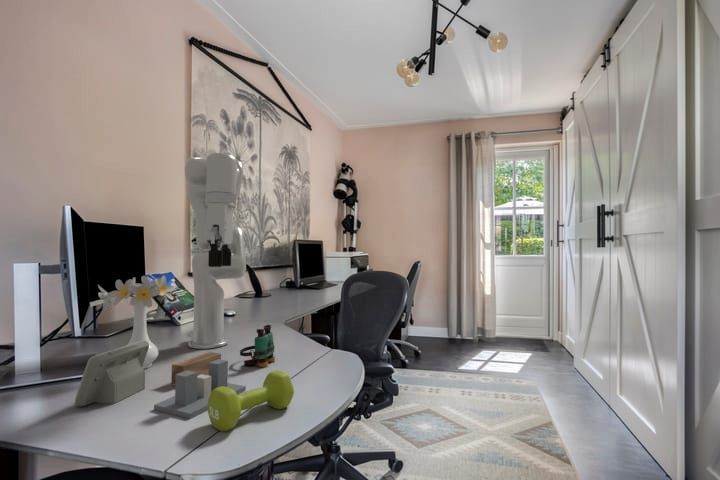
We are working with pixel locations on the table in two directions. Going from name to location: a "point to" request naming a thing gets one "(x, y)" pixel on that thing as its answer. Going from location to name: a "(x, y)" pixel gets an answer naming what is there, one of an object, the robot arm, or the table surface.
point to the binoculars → (261, 348)
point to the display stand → (197, 390)
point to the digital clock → (113, 375)
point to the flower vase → (139, 307)
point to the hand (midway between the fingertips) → (220, 266)
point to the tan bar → (194, 365)
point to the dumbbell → (248, 400)
